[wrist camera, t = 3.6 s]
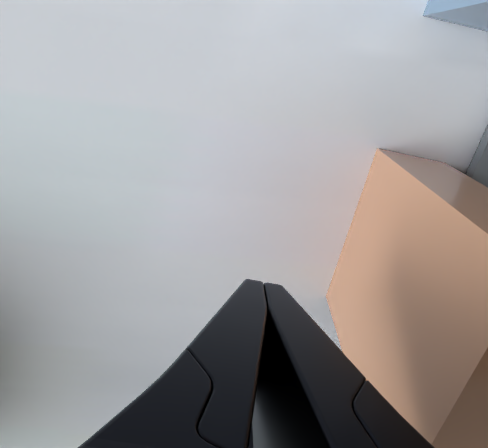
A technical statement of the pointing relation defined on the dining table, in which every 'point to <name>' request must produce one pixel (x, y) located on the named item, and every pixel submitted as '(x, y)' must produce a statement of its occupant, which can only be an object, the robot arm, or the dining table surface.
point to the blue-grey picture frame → (460, 12)
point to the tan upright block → (419, 296)
